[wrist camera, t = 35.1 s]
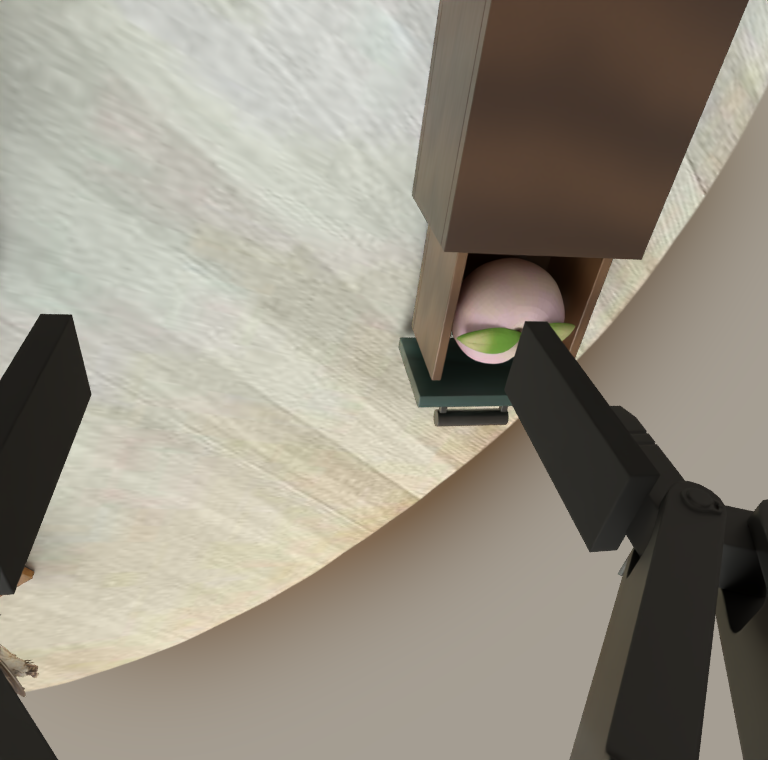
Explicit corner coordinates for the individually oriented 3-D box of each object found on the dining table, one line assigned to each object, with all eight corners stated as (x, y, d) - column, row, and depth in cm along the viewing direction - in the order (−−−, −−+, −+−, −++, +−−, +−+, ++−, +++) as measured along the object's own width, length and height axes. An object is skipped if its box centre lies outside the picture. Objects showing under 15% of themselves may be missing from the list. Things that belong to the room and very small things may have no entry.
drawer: (517, 390, 60) (550, 449, 53) (391, 392, 57) (408, 454, 50) (584, 181, 47) (639, 223, 40) (425, 171, 44) (455, 213, 37)
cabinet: (577, 205, 49) (641, 260, 41) (411, 195, 46) (443, 252, 38) (659, -51, 39) (769, -49, 30) (451, -85, 36) (508, -93, 27)
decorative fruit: (537, 224, 47) (590, 280, 39) (539, 306, 52) (587, 370, 45) (428, 252, 47) (459, 314, 39) (441, 332, 52) (471, 400, 45)
